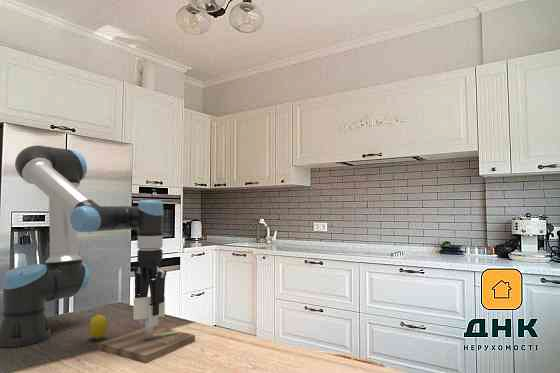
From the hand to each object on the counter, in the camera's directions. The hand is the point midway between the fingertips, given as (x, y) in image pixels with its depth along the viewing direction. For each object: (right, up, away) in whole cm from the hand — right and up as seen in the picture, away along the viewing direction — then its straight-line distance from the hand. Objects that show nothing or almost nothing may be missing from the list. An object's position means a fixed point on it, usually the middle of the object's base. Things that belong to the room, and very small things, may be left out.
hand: (148, 324), depth 121 cm
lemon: (-18, -7, +5) cm, 20 cm away
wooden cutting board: (0, -7, 0) cm, 7 cm away
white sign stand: (+2, -4, +1) cm, 5 cm away
